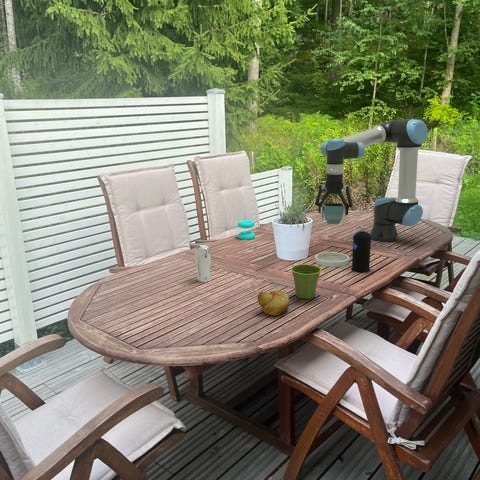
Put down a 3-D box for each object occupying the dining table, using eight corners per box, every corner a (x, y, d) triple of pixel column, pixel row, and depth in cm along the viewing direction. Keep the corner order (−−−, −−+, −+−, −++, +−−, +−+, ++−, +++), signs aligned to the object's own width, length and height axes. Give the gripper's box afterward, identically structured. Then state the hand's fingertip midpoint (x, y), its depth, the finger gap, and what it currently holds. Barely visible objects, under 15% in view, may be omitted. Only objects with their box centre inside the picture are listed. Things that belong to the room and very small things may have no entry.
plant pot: (313, 304, 165) (314, 276, 162) (285, 298, 171) (285, 271, 168) (325, 293, 174) (326, 266, 171) (298, 288, 180) (298, 262, 177)
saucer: (340, 255, 221) (341, 250, 220) (354, 265, 206) (354, 260, 205) (310, 257, 218) (310, 253, 218) (322, 268, 203) (322, 263, 203)
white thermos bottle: (214, 277, 195) (212, 245, 191) (208, 283, 188) (206, 249, 184) (200, 276, 197) (198, 244, 193) (193, 281, 191) (191, 248, 187)
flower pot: (341, 221, 211) (342, 202, 209) (343, 225, 203) (344, 206, 200) (322, 221, 212) (323, 202, 210) (324, 225, 204) (324, 206, 201)
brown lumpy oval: (276, 301, 168) (276, 281, 166) (297, 308, 162) (297, 287, 160) (255, 312, 159) (254, 292, 157) (276, 320, 153) (276, 298, 151)
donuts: (258, 221, 254) (245, 224, 247) (258, 237, 256) (246, 241, 250) (246, 218, 261) (233, 221, 254) (246, 234, 263) (234, 238, 257)
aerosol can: (371, 267, 202) (373, 225, 196) (368, 273, 195) (370, 229, 189) (353, 265, 205) (355, 224, 200) (349, 271, 198) (351, 228, 193)
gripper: (308, 173, 202) (307, 220, 208) (358, 175, 193) (356, 224, 199) (312, 171, 209) (311, 217, 215) (361, 173, 200) (358, 220, 206)
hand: (333, 220), depth 207 cm, fingers closed on flower pot, 10 cm apart
